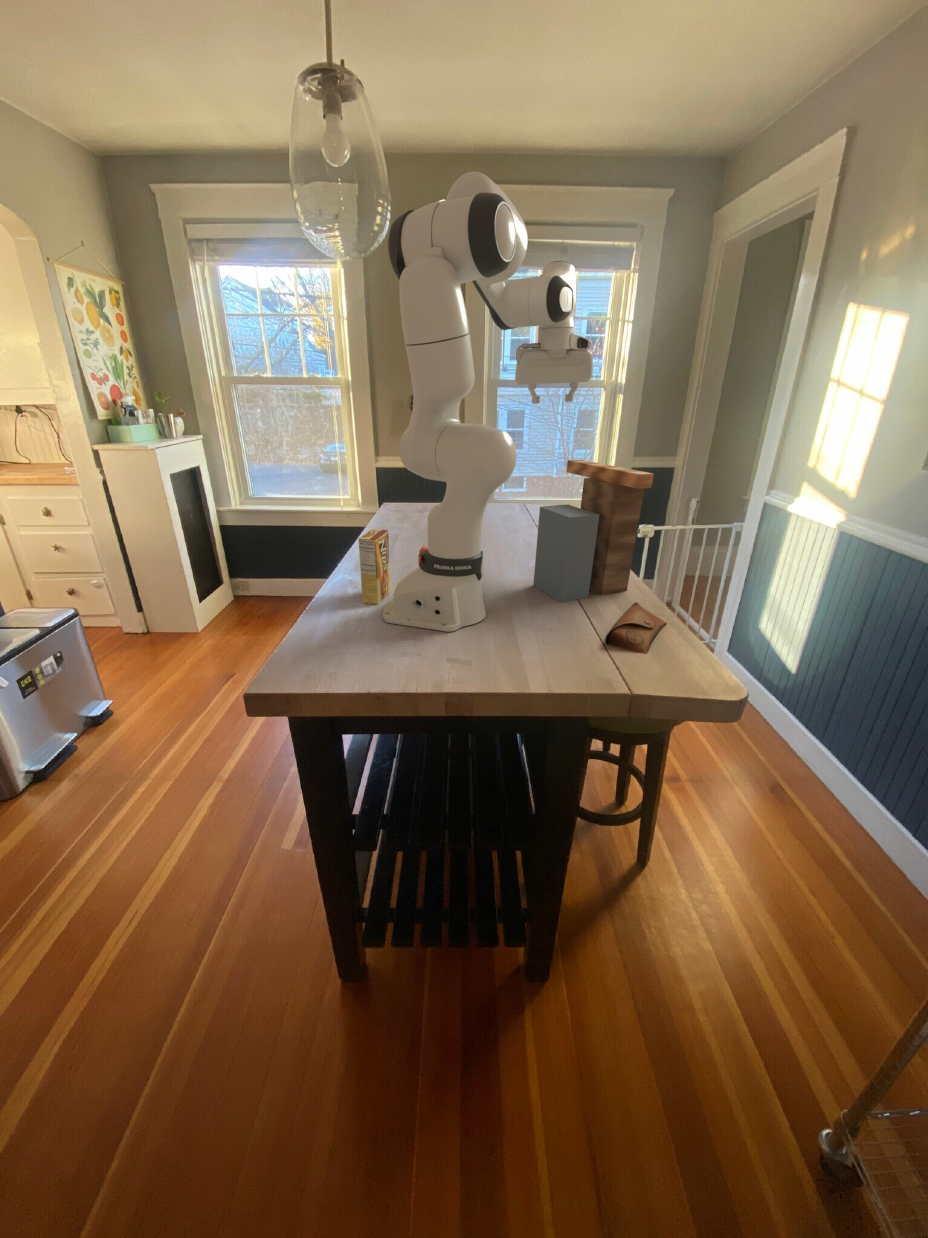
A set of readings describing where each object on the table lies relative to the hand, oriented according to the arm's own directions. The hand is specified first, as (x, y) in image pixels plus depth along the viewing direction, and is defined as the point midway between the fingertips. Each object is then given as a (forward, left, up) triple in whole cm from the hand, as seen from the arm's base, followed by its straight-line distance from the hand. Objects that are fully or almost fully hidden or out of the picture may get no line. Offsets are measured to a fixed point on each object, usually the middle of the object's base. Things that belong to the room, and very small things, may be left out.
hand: (552, 402), depth 127 cm
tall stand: (+14, -22, -42) cm, 50 cm away
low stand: (+4, -28, -42) cm, 51 cm away
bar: (+13, -19, -16) cm, 28 cm away
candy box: (-40, -38, -43) cm, 70 cm away
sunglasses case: (+18, -49, -43) cm, 68 cm away
